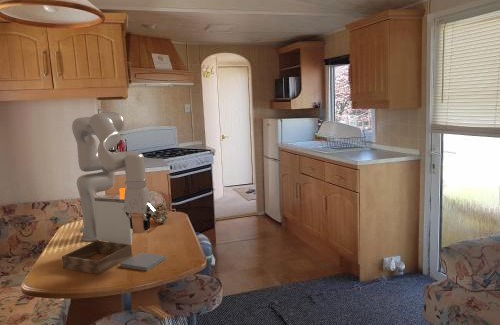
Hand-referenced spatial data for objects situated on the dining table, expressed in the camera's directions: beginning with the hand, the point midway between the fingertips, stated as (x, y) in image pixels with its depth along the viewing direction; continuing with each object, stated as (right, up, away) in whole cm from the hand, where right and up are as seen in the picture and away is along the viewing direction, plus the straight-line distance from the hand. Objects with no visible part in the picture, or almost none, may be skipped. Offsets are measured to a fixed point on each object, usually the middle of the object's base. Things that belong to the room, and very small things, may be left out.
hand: (140, 228), depth 164 cm
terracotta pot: (0, -1, 0) cm, 1 cm away
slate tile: (+1, -15, +2) cm, 15 cm away
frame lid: (-15, +1, +12) cm, 20 cm away
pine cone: (-4, -7, +54) cm, 54 cm away
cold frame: (-19, -15, +6) cm, 25 cm away
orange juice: (-20, -7, +57) cm, 61 cm away
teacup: (-15, -12, +27) cm, 33 cm away
